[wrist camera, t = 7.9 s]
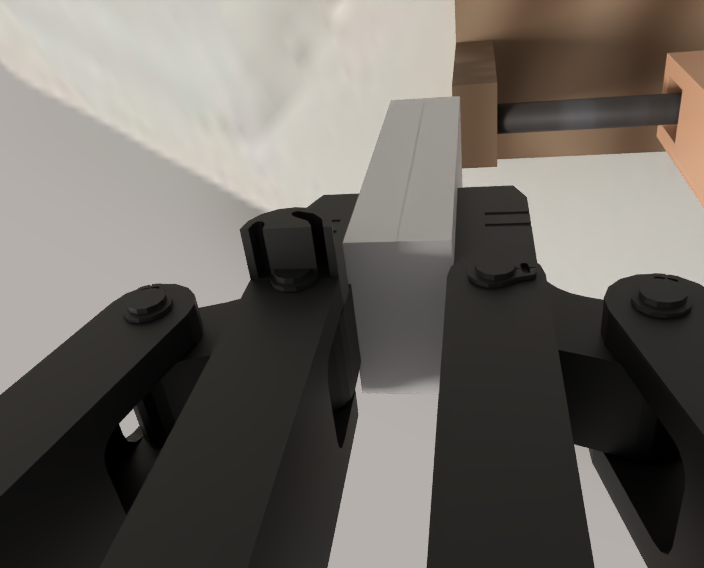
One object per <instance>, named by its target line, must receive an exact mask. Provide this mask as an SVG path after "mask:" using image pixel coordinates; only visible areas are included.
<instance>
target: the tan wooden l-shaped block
mask: <svg viewBox="0 0 704 568" xmlns="http://www.w3.org/2000/svg"><path fill="white" fill-rule="evenodd" d="M680 92H682V98H681V105H680V112H679V119H678V124H676V125H658V128H657V138H658V139H659V141H660V142H661V144H662V145H663V147H664V148H665V150H666V151H667V153H668V154H669V156H670V158H671V159H672V161H673V162H674V164H675V165H676V167H677V168H678V170H679V171H680V173H681V174H682V176H683V177H684V179H685V180H686V182H687V183H688V185H689V186H690V188H691V189H692V191H693V193H694V194H695V196H696V197H697V199H698V200H699V202H700V203H701V205H702V206H703V208H704V50H702V51H688V52H674V53H667V58H666V66H665V74H664V82H663V89H662V94H664V93H680Z"/></svg>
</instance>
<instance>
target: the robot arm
mask: <svg viewBox="0 0 704 568" xmlns="http://www.w3.org/2000/svg"><path fill="white" fill-rule="evenodd" d="M240 232H241V237H242V242H243V246H244V251H245V256H246V260H247V265H248V269H249V274H250V278H251V280H250V282H249V284H248V286H247V288H246V289H245V291H244V293H243V295H242V297H241V299H238V300H234V301H230V302H227V303H222V304H216V305H211V306H207V307H201V308H198V305H197V302H196V298H195V295H194V294H193V293H192V292H191V290H189V288H187V287H183V286H180V285H177V284H152V286H150V285H147V286H143V287H140V288H138V289H137V290H135V291H132V292H129V293H127V294H125V295H123V296H122V297H120V298H119V299H117V300H115V301H114V302H112V303H111V304H110V305H109V306H107V307H106V308H105V309H104V310H103V311H101V312H100V313H99V314H98V315H97V316H95V317H94V318H93V319H92V320H90V322H88V323H87V324H86V325H84V326H83V327H82V328H81V329H80V330H78V331H77V332H76V333H75V334H74V335H72V336H71V337H70V338H69V339H68V340H66V341H65V342H64V343H63V344H61V345H60V346H59V347H58V348H57V349H56V350H54V351H53V352H52V353H51V354H49V355H48V356H47V357H46V358H45V359H43V360H42V361H41V362H40V363H38V364H37V365H36V366H35V367H34V368H32V369H31V370H30V371H29V372H28V373H26V374H25V375H24V376H23V377H21V378H20V379H19V380H18V381H17V382H15V383H14V384H13V385H12V386H11V387H9V388H8V389H7V390H6V391H5V392H3V393H2V394H1V395H0V568H327V567H328V562H329V557H330V552H331V547H332V542H333V537H334V532H335V527H336V522H337V518H338V513H339V508H340V503H341V498H342V492H343V488H344V482H345V478H346V473H347V468H348V463H349V458H350V454H351V449H352V444H353V439H354V434H355V428H356V424H357V419H358V408H357V400H356V392H355V387H356V382H357V378H358V373H359V370H360V378H361V385H362V393H382V394H439V399H438V413H437V428H436V442H435V456H434V470H433V471H434V472H433V485H432V500H431V514H430V528H429V544H428V557H427V568H594V562H593V556H592V550H591V544H590V538H589V532H588V526H587V520H586V514H585V508H584V502H583V496H582V490H581V484H580V478H579V472H578V467H577V460H576V454H575V448H574V444H576V445H579V446H583V447H587V448H589V451H590V456H591V459H592V463H593V465H594V467H595V469H596V470H597V472H598V474H599V476H600V478H601V480H602V482H603V484H604V486H605V488H606V489H607V491H608V493H609V495H610V497H611V499H612V501H613V503H614V504H615V506H616V508H617V510H618V512H619V514H620V516H621V518H622V520H623V521H624V523H625V525H626V527H627V529H628V531H629V533H630V535H631V537H632V539H633V540H634V542H635V544H636V546H637V548H638V550H639V552H640V554H641V556H642V557H643V559H644V561H645V563H646V565H647V567H648V568H704V287H703V286H702V285H700V284H698V283H695V282H692V281H689V280H687V279H684V278H681V277H678V276H674V275H669V274H668V275H666V274H657V273H655V274H640V275H634V276H630V277H626V278H623V279H620V280H618V281H617V282H615V283H614V284H612V285H611V286H609V287H608V289H607V292H606V294H605V296H604V300H601V299H596V298H590V297H584V296H580V295H576V294H572V293H569V292H566V291H564V290H561V289H559V288H556V287H555V286H553V285H552V284H550V283H549V282H547V280H546V274H545V272H544V271H543V269H542V267H541V265H540V264H538V263H537V259H536V253H535V246H534V240H533V234H532V227H531V221H530V214H529V208H528V202H527V197H526V196H525V195H524V194H522V193H521V192H520V191H519V190H518V189H517V188H515V187H514V186H491V187H465V188H462V156H461V119H460V96H454V97H439V98H423V99H408V100H393V101H391V102H390V105H389V108H388V111H387V114H386V117H385V120H384V123H383V126H382V129H381V132H380V135H379V138H378V140H377V143H376V146H375V149H374V152H373V155H372V158H371V161H370V164H369V167H368V170H367V173H366V176H365V179H364V182H363V184H362V187H361V190H360V193H359V194H340V195H323V196H322V197H320V198H319V199H318V200H316V201H315V202H314V203H312V204H311V205H310V206H308V207H307V208H299V207H294V208H286V209H278V210H274V211H271V212H268V213H264V214H261V215H259V216H257V217H255V218H253V219H252V220H249V221H248V222H247V223H246V224H245V225H244V226H243V227H242V228H241V229H240ZM132 409H134V412H135V414H136V417H137V420H138V422H139V425H140V426H139V427H138V428H137V429H136V430H135V432H134V433H132V434H131V435H130V436H128V437H127V438H125V437H124V435H123V433H122V431H121V428H120V426H119V423H120V422H121V421H122V420H123V419H124V418H125V417H126V415H127V414H128V413H129V412H130V411H131V410H132Z"/></svg>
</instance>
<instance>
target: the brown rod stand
mask: <svg viewBox="0 0 704 568" xmlns="http://www.w3.org/2000/svg"><path fill="white" fill-rule="evenodd" d="M455 19H456V50H455V60H454V71H453V81H452V97H454V96H460V119H461V156H462V168H478V167H497V159H513V158H534V157H556V156H577V155H598V154H620V153H641V152H662V151H666V150H665V148H664V147H663V145H662V144H661V142H660V141H659V139H658V138H657V128H658V125H676V124H678V119H679V112H680V105H681V98H682V92H680V93H664V94H662V89H663V82H664V74H665V66H666V58H667V53H674V52H688V51H702V50H704V0H455Z"/></svg>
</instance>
